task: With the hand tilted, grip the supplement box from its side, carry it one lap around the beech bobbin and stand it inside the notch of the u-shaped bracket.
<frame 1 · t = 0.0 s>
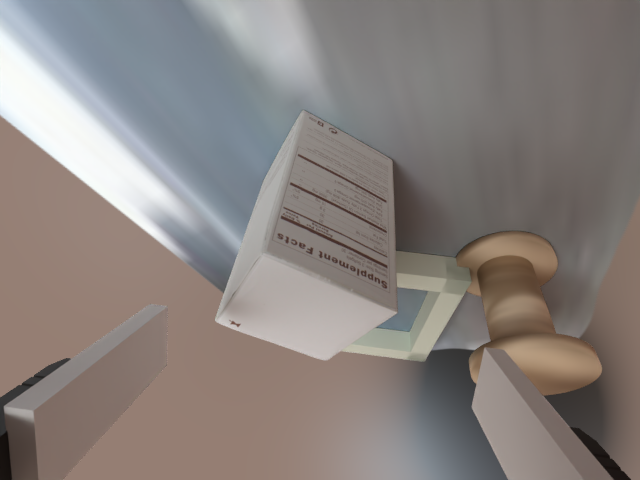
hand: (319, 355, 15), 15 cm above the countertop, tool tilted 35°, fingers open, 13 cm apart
u-shaped bracket: (365, 297, 38), on the countertop
bobbin: (501, 262, 32), on the countertop
supplement box: (325, 168, 27), on the countertop
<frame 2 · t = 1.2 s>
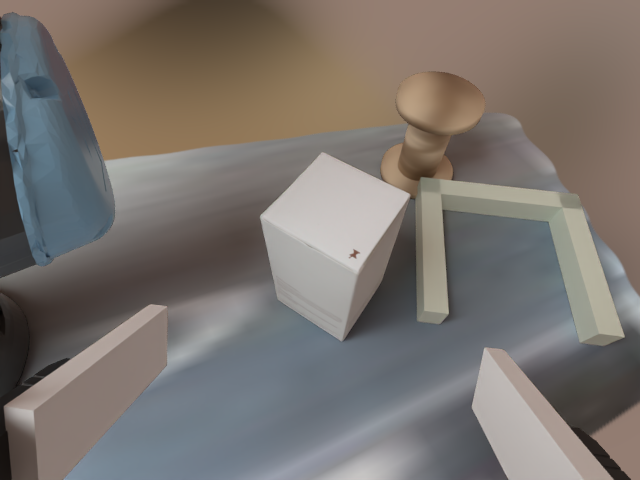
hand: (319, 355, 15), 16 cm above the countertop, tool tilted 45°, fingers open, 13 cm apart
u-shaped bracket: (498, 264, 35), on the countertop
bobbin: (414, 172, 42), on the countertop
supplement box: (329, 290, 34), on the countertop
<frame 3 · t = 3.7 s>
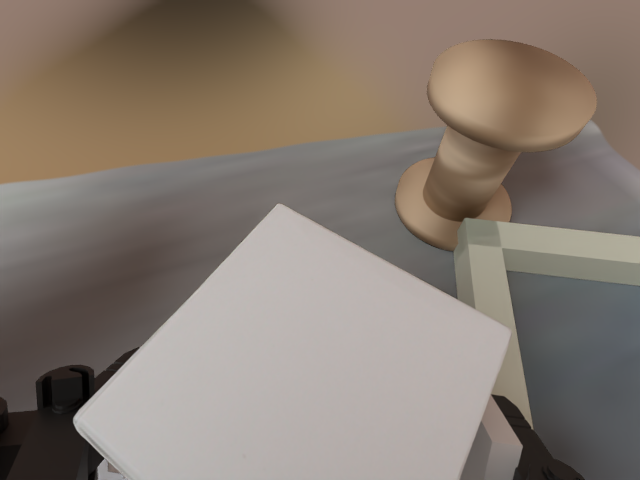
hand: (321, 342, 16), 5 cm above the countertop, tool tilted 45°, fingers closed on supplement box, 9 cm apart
u-shaped bracket: (607, 374, 20), on the countertop
bobbin: (449, 205, 27), on the countertop
supplement box: (312, 433, 19), on the countertop, touching gripper
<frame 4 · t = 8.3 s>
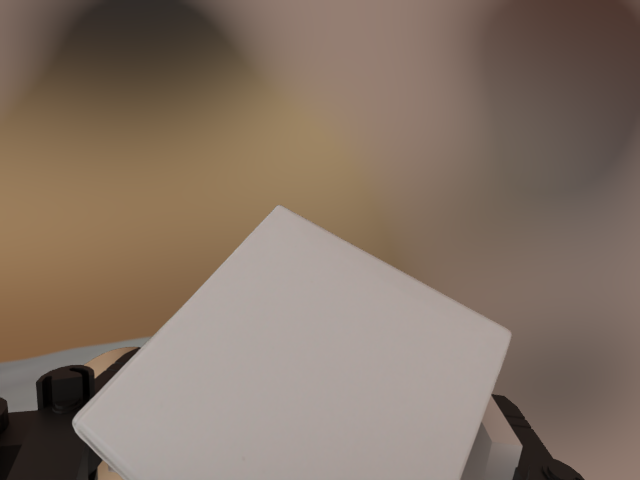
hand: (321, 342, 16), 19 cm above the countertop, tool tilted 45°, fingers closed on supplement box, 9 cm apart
bobbin: (169, 429, 31), on the countertop
supplement box: (311, 435, 19), point 14 cm above the countertop, touching gripper
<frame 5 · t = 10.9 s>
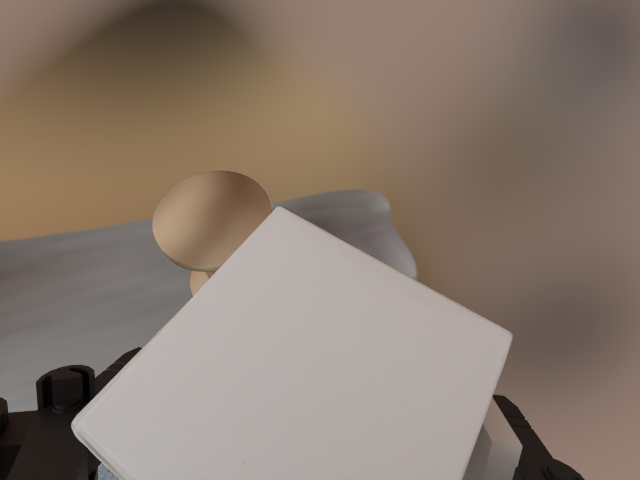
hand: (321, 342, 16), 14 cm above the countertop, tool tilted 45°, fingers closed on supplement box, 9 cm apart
bobbin: (237, 279, 33), on the countertop
supplement box: (311, 436, 18), point 9 cm above the countertop, touching gripper
when the fingers open (6 cm above the countertop, at t = 13.3 s): supplement box stays where it is, on the countertop.
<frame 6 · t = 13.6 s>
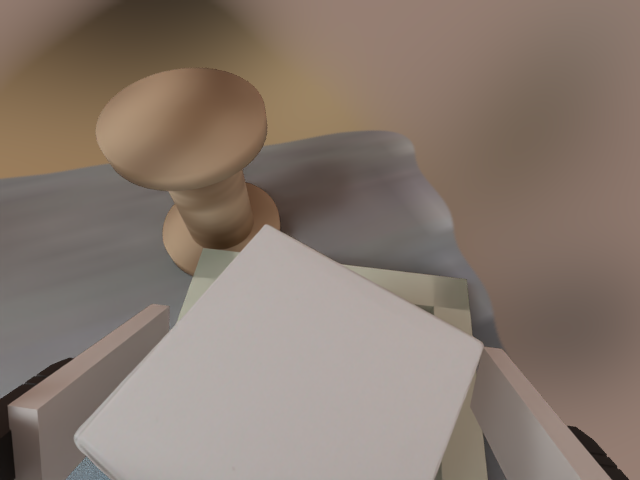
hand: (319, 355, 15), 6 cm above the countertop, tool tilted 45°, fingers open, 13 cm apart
u-shaped bracket: (314, 413, 20), on the countertop
bobbin: (224, 231, 26), on the countertop
supplement box: (305, 438, 19), on the countertop
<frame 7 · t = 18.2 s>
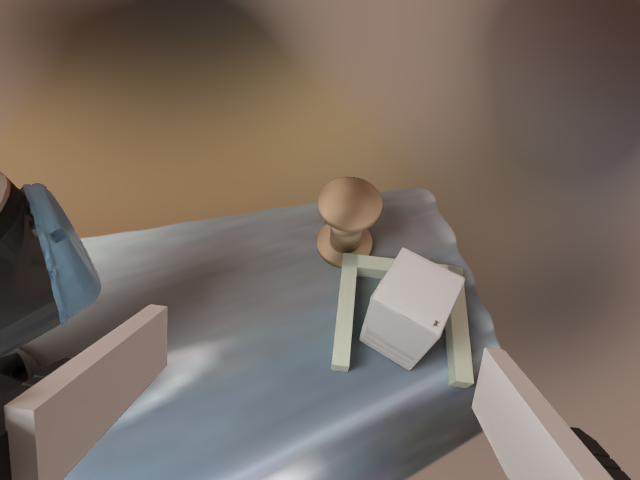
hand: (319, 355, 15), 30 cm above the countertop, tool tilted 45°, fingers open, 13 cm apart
u-shaped bracket: (398, 322, 47), on the countertop
bobbin: (344, 244, 53), on the countertop
supplement box: (395, 331, 46), on the countertop
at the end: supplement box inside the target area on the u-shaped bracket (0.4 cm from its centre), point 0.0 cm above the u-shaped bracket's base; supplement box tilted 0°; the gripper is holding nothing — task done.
